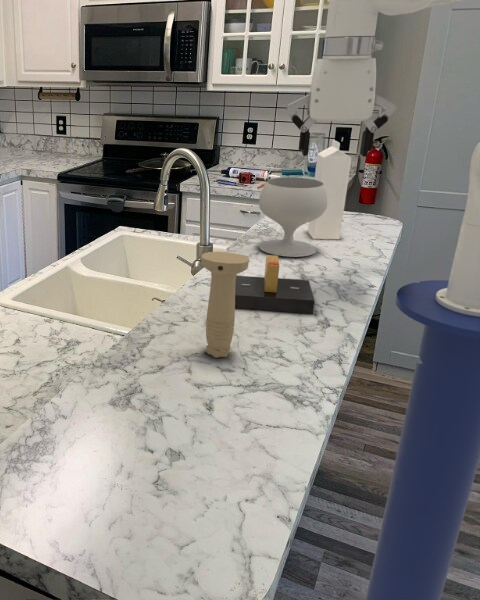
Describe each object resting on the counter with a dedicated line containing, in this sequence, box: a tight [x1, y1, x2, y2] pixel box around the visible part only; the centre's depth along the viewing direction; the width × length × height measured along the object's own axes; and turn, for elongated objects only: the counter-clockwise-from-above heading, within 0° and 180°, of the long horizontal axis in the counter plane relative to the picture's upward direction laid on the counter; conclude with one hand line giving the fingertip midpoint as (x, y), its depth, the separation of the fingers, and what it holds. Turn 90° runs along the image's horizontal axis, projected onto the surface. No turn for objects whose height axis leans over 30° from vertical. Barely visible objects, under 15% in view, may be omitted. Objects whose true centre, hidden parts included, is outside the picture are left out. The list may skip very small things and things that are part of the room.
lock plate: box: [235, 275, 315, 315], centre depth 109 cm, size 14×10×3 cm
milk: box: [307, 139, 352, 240], centre depth 141 cm, size 6×6×22 cm
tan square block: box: [263, 254, 280, 293], centre depth 107 cm, size 6×2×5 cm, turn 165°
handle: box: [200, 251, 250, 359], centre depth 88 cm, size 5×6×15 cm
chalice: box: [258, 176, 327, 258], centre depth 133 cm, size 14×14×15 cm
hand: (333, 155), depth 107 cm, fingers open, 9 cm apart
